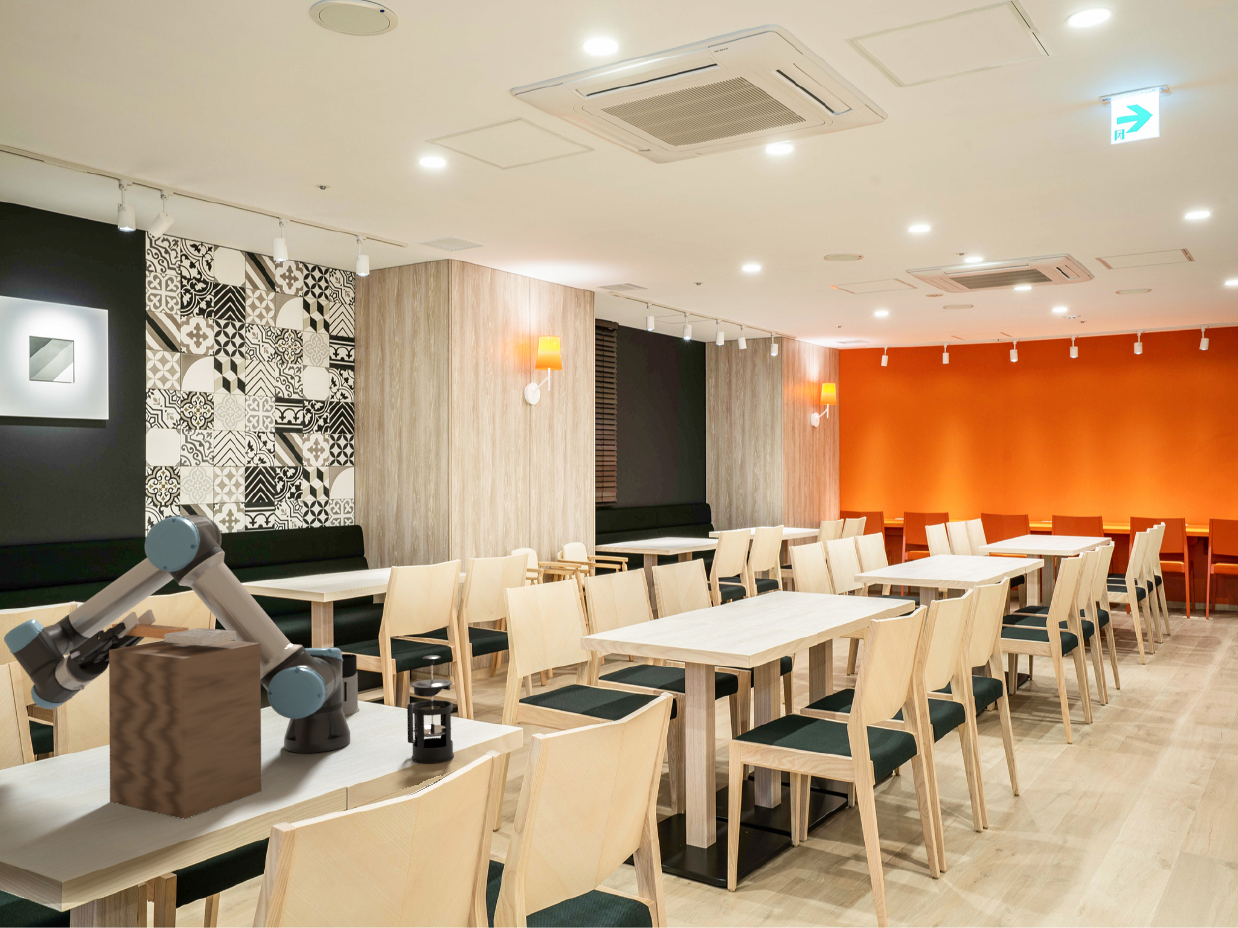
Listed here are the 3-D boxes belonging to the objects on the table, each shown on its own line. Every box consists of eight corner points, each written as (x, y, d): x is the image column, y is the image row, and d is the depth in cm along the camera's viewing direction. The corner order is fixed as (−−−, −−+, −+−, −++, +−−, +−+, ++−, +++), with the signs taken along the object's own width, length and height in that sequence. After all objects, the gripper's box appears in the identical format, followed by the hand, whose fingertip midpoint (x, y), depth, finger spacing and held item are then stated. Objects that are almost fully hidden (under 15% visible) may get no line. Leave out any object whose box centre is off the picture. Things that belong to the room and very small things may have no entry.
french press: (464, 754, 218) (463, 653, 218) (439, 766, 209) (438, 661, 209) (422, 749, 223) (421, 650, 223) (396, 760, 214) (395, 657, 214)
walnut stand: (109, 801, 188) (109, 649, 189) (188, 776, 204) (187, 636, 205) (184, 819, 178) (183, 658, 179) (261, 790, 194) (260, 643, 195)
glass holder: (362, 707, 265) (362, 653, 265) (350, 720, 251) (349, 663, 251) (331, 707, 264) (330, 653, 265) (316, 720, 250) (315, 663, 250)
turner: (100, 635, 198) (100, 626, 198) (135, 629, 205) (135, 620, 205) (202, 645, 184) (202, 635, 184) (236, 639, 191) (236, 629, 191)
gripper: (123, 674, 213) (183, 627, 204) (52, 689, 199) (113, 638, 190) (112, 644, 215) (171, 595, 206) (40, 656, 201) (101, 605, 192)
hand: (143, 616), depth 198 cm, fingers closed on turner, 3 cm apart
